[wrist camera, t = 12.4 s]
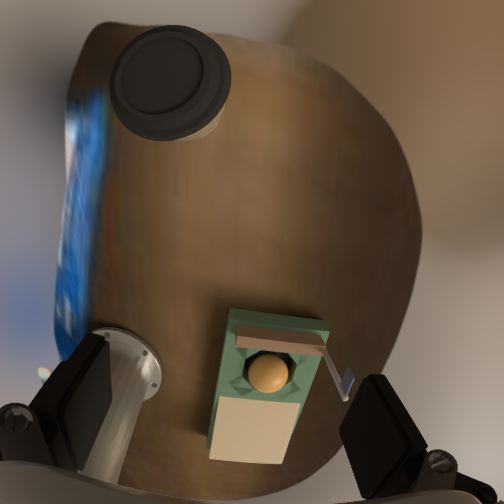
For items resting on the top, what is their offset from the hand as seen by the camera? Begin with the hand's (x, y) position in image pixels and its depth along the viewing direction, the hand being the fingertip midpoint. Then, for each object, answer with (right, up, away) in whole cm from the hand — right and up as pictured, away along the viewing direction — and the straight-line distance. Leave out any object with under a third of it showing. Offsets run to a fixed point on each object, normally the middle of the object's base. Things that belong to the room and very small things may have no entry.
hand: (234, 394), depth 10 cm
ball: (+3, -10, +27) cm, 29 cm away
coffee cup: (-6, +21, +22) cm, 30 cm away
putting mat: (+2, -14, +31) cm, 34 cm away
